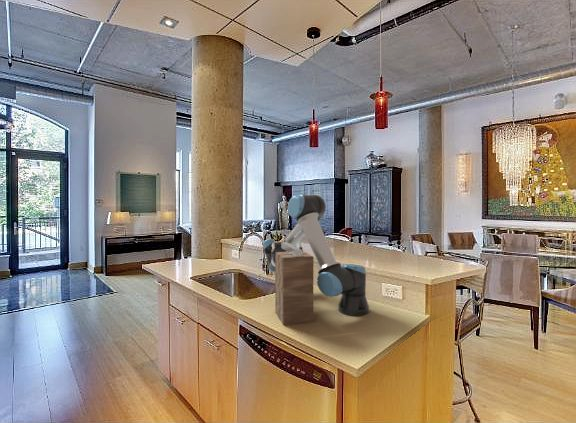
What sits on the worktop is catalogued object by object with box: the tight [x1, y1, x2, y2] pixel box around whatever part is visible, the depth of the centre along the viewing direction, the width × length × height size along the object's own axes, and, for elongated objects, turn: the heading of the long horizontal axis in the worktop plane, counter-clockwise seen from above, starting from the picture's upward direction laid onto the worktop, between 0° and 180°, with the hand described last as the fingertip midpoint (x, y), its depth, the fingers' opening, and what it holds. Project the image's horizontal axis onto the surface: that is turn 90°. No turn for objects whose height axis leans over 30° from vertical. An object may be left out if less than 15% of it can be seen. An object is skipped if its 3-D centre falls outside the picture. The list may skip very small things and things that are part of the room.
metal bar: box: [280, 241, 302, 257], centre depth 154 cm, size 26×3×3 cm, turn 15°
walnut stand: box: [274, 250, 314, 326], centre depth 150 cm, size 16×14×30 cm
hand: (287, 244), depth 160 cm, fingers open, 13 cm apart
